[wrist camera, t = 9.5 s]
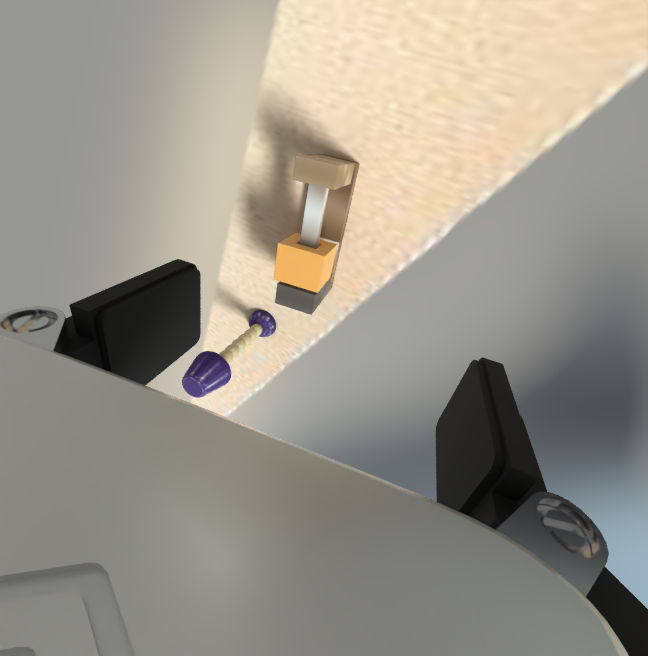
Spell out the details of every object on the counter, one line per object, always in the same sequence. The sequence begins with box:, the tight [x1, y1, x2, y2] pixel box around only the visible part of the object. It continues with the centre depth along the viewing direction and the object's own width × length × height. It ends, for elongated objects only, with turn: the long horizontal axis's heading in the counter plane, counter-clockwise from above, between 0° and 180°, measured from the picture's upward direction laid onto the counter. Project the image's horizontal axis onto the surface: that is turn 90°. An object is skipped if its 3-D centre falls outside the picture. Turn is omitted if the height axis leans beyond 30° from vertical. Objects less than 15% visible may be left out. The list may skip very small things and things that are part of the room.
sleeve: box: [274, 233, 337, 293], centre depth 35 cm, size 4×5×5 cm
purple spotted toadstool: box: [182, 310, 276, 398], centre depth 42 cm, size 5×5×17 cm
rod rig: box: [275, 154, 359, 315], centre depth 36 cm, size 15×4×8 cm, turn 169°
